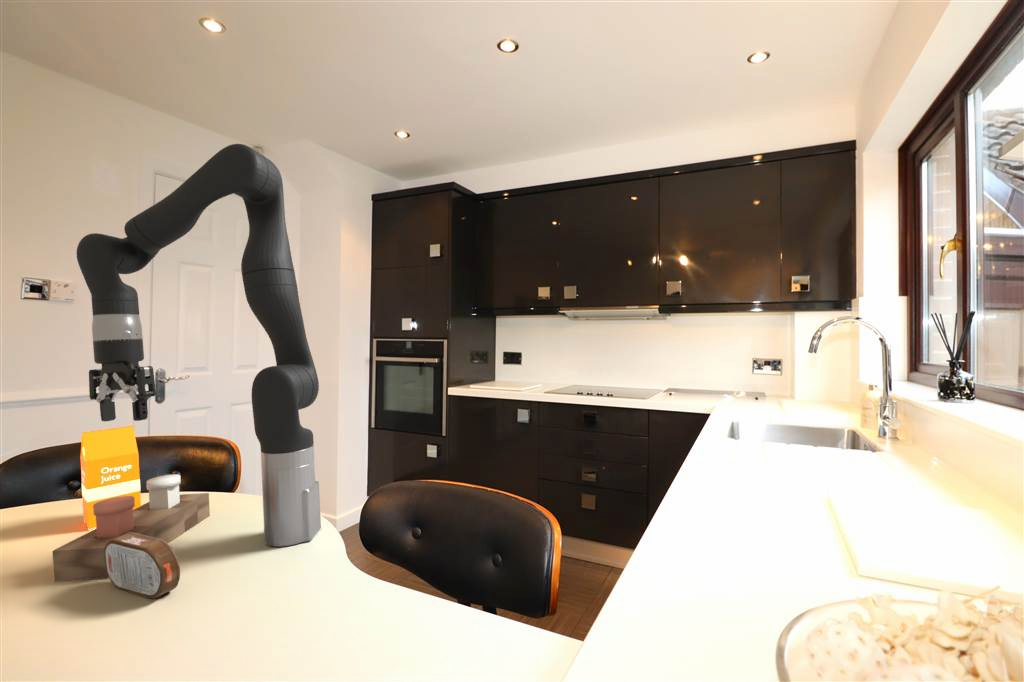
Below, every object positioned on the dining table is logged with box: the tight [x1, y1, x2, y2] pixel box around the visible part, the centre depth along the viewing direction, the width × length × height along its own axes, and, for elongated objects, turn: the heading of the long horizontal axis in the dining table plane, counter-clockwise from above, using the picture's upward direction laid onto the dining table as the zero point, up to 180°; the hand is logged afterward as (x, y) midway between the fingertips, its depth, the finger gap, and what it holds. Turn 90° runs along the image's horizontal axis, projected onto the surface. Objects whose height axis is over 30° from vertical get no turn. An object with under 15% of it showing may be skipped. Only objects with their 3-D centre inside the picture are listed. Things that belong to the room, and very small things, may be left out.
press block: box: [52, 492, 211, 582], centre depth 90 cm, size 10×26×5 cm, turn 4°
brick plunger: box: [93, 496, 135, 538], centre depth 83 cm, size 6×6×6 cm
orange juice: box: [79, 425, 142, 529], centre depth 102 cm, size 8×9×20 cm
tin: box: [104, 532, 181, 599], centre depth 72 cm, size 15×3×8 cm, turn 67°
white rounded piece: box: [146, 473, 182, 510], centre depth 96 cm, size 6×6×6 cm
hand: (124, 420), depth 92 cm, fingers open, 8 cm apart
